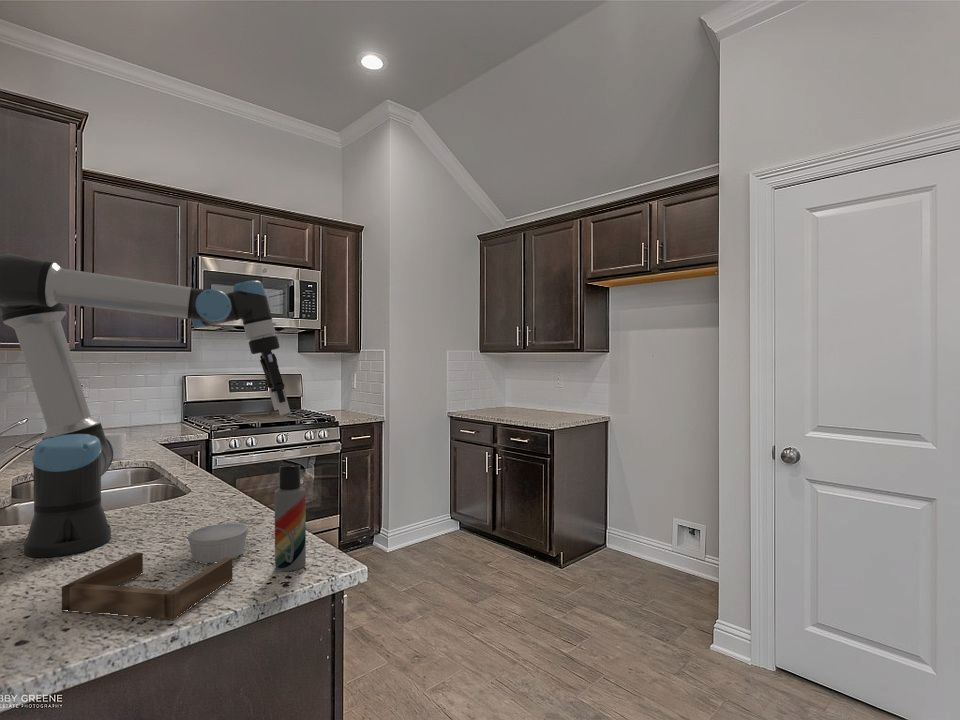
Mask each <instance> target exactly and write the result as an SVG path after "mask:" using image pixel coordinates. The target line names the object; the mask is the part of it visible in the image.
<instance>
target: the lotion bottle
mask: <svg viewBox="0 0 960 720" xmlns="http://www.w3.org/2000/svg"><path fill="white" fill-rule="evenodd" d="M278 475H279V477H278V478H279V479H278V480H279V481H278V482H279V483H278V485H279V488H277V489H275V490H274V564H275V565H274V567H275V569H276V570H277V571H278V570H279V571H278V572H284V571H287V572H293V570H294V571H297V569H298V570H300V569H302V568H304V567H305V565H306V560H307V559H306V558H307V555H306V553H307V549H306V548H307V547H306V546H307V542H306V540H307V539H306V534H307V533H306V529H307V527H306V526H307V525H306V518H307V517H306V488H305V487H303V486H301V484H302V483H301V465H300V464H295V465H285V466H284V465H282V466H281V465H280V466H279V473H278Z"/></svg>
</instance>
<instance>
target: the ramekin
mask: <svg viewBox="0 0 960 720" xmlns="http://www.w3.org/2000/svg"><path fill="white" fill-rule="evenodd" d="M248 532H249V530H248V526H247V525H245V524H242V523H232V522H231V523H218V524H217V523H216V524H211V525H207V526H204V527H200V528H197V529H194V530H193V531H191V532H190V533H188V535H187V541H188V543H189V550H190V555H191V557H192V559H193V561H194V562H195V561H197V562H201V563H215V562H219V561H220V560H222V559H223V558H232V559H233V558H236V557H237V558H239V557H240V556H242V554H243V552H245V547H246V540H247V534H248ZM239 555H240V556H239ZM238 556H239V557H238ZM237 558H236V559H237ZM233 560H234V559H233ZM197 562H196V563H197Z"/></svg>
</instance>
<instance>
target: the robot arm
mask: <svg viewBox="0 0 960 720" xmlns="http://www.w3.org/2000/svg"><path fill="white" fill-rule="evenodd" d="M64 304H65V305H73V306H80V307H89V308H98V309H104V310H105V309H106V310H116V311H123V312H132V313H140V314H148V315H155V316H163V317H164V316H165V317H170V318H171V317H173V318H179V319H180V318H181V319H188V320H191V323H192V326H193V327H194V328H197V329H198V328H199V329H200V328H204V327H206V328H209V327H210V326H215V325H220V324H224V323H229V322H235V321H238V320H241V321H242V323H243V328H244V332H245V336H246V340H247V339H248V340H249V341H248V347H249V350H250V353H251V354H252V355H256V354H260V356H259V358H260V359H259V362H260V364H261V367H262V370H263V371H262V372H264V378H265V381H266V386H267V388H268V391H269V395H270V399H271V404H272V407H273V411H277V410H278V412H279V416H284V415H286V414H290V413H291V409H290V405H289V402H288V397H287V394H286V391H285V383H284V381H283V378H282V375H281V372H280V368H279V365H278V359H277V356H276V354H275V353H274V352H273V351H275V350H278V349H280V347H281V346H280V344H279V339H278V336H277V335H275V334H276V328H275V327H276V326H277V324H276V322H274V321H273V317H272V314H271V313H272V312H271V309H270V306H269V301H268V296H267V294H266V291H265V288H264V285H263V283H262V282H261V281H260V280H247V281H242V282H239V283H236V284H234V285H233V291H232V292H227V293H225V292H224V291H221V290H219V289H215V288H209V289H203V288H196V287H191V286H190V287H189V286H184V285H176V284H169V283H163V282H156V281H149V280H142V279H137V278H136V279H135V278H128V277H123V276H114V275H108V274H103V273H102V274H101V273H95V272H89V271H88V272H87V271H80V270H75V269H69V268H68V269H67V268H62V267H61V266H60V265H59V264H58V263H57V262H53V261H47V260H40V259H37V258H36V259H35V258H31V257H28V256H25V255H24V256H23V255H19V254H14V253H4V254H0V316H1V319H2V322H3V324H4V325H7V326H8V327H10V328H12V329H14V332H15V334H16V337H17V340H18V344H19V346H20V350H21V352H22V355H23V360H24V361H25V364H26V367H27V371H28V373H29V376H30V379H31V382H32V383H31V384H32V385H33V389H34V392H35V395H36V397H37V401H38V404H39V408H40V410H41V413H42V416H43V419H44V423H45V425H46V430H45V432H44V433H43V434H42V436H41V440H40V441H39V442H38V443H36V445H35V446H34V447H33V455H32V457H31V459H32V464H33V465H32V466H33V470H32V471H33V517H32V519H31V523H30V526H29V530H28V533H27V536H26V538H25V539H24V540H23V554H24V556H27V557H31V558H52V557H61V556H68V555H72V554H73V555H74V554H78V553H83V552H85V551H88V550H91V549H95V548H98V547H100V546H102V545H104V544H107V543H109V542H110V540H111V539H112V530H111V529H112V528H111V526H110V524H109V523H108V519H107V517H106V513H105V511H104V509H103V506H102V476H104V474H106V473H107V472H108V470H109V469H110V467H111V466H112V462H113V461H114V460H113V455H114V453H113V447H112V445H111V443H110V441H109V440H108V439H107V438H106V437H105V434H106V433H105V432H104V428H103V425H102V423H101V421H100V420H98V419H96V418H94V417H92V416H91V415H92V414H91V413H90V410H89V407H88V403H87V401H86V400H87V399H86V397H85V393H84V391H83V387H82V384H81V381H80V378H79V375H78V372H77V369H76V365H75V363H74V359H73V356H72V352H71V349H70V346H69V343H68V340H67V337H66V333H65V330H64V328H63V324H62V320H63V319H64V317H65V316H66V314H67V312H66V308H65V305H64Z"/></svg>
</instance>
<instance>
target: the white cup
mask: <svg viewBox="0 0 960 720" xmlns="http://www.w3.org/2000/svg"><path fill="white" fill-rule="evenodd" d="M104 434H105V437H106V438H107V439H108V440H109V441H110V443H111V445H112V447H113V453H114V455H113V460H112V461H116V460H123V459H125V458H126V451H127V449H126V448H127V432H109V433H104Z"/></svg>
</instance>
